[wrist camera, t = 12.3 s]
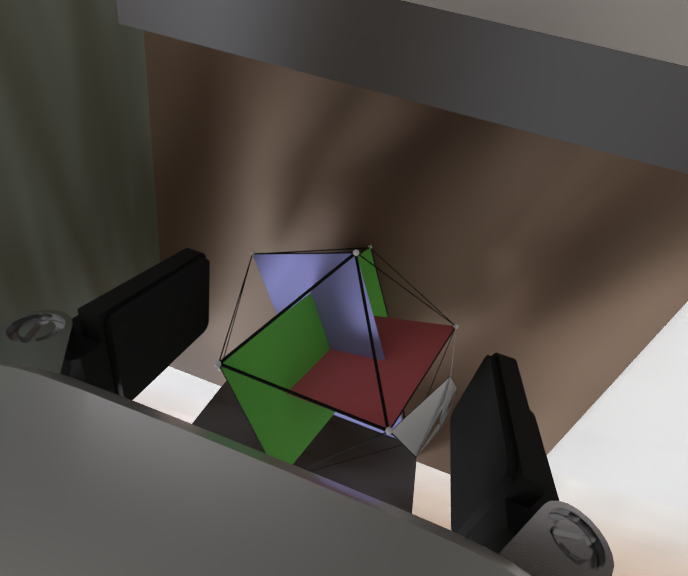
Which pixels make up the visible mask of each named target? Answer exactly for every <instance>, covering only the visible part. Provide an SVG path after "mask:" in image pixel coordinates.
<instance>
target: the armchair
mask: <svg viewBox="0 0 688 576" xmlns="http://www.w3.org/2000/svg"><path fill="white" fill-rule="evenodd" d="M369 245H372V249H373V250H374V251H375V252H376V253H377V254H378V255H379V256H380V257H381V258H382V259H384V260H385V261H386V262H387V263H388V264H389V265H390V266H391V267H392V268H393V269H394V270H396V271H397V272H398V273H399V274H400V275H401V276H402V277H403V278H404V279H405V280H407V281H408V282H409V283H410V284H411V285H412V286H413V287H414V288H415V289H416V290H417V291H419V292H420V293H421V294H422V295H423V296H424V297H425V298H426V299H427V300H428V301H429V302H431V303H432V304H433V305H434V306H435V307H436V308H437V309H438V310H439V311H440V312H441V313H443V314H444V315H445V316H446V317H447V318H448V319H449V320H450V321H451V322H452V323H453V324H458V325H459V327H458V328H457V329H455V331H454V334H453V333H452V334H453V336H452V335H451V336H452V338H451V337H450V338H451V341H450V338H449V340H448V341H447V343H446V344H445V346H444V348H443V349H442V351H441V352H440V354H439V355H438V357H437V359H436V360H435V362H434V363H433V365H432V366H431V368H430V370H429V371H428V373H427V374H426V376H425V377H424V379H423V381H422V382H421V384H420V385H419V387H418V388H417V390H416V392H415V393H414V395H413V396H412V398H411V399H410V401H409V403H408V404H407V406H406V407H405V409H404V412H405V417H406V416H407V415H408V414H409V413H410V412H411V411H413V410H414V409H415V408H416V407H417V406H418V405H419V404H420V403H421V402H422V401H423V400H425V399H426V397H427V394H428V392H429V390H430V387H431V385H432V382H433V380H434V377H435V375H436V373H437V370H438V368H439V365H440V363H441V360H442V358H443V355H444V353H445V351H446V348H447V346H448V343H449V341H450V343H449V346H448V348H447V351H446V353H445V355H444V358H443V360H442V363H441V365H440V368H439V370H438V373H437V375H436V377H435V380H434V382H433V385H432V387H431V390H430V392H429V394H428V396H429V395H430V394H431V393H432V392H433V391H434V390H435V389H437V388H438V387H439V386H440V385H441V384H442V383H443V382H444V381H445V380H446V379H447V378H448V377H450V374H451V366H452V358H453V367H452V380H453V381H454V383H455V385H456V387H457V390H456V392H455V393H456V394H455V397H453V398H454V400H453V399H452V401H453V403H452V402H451V403H452V406H451V404H450V406H451V409H450V411H449V413H448V415H447V417H446V419H445V421H444V423H443V425H442V427H441V428H440V429H439V430H438V431H437V432H436V434H435V435H434V436H433V437H432V439H431V440H430V441H429V442H428V444H427V445H426V446H425V447H424V449H423V450H422V451H421V449H422V448H423V446H424V445H425V443H426V442H427V440H428V439H429V437H430V436H431V434H432V433H433V431H434V430H435V428H436V427H437V425H438V424H439V422H440V417H441V413H442V410H441V412H440V414H439V415H438V417H437V419H436V421H435V423H434V425H433V427H432V429H431V430H430V432H429V434H428V436H427V438H426V440H425V442H424V444H423V445H422V447H421V449H420V451H421V452H420V451H419V452H420V454H419V453H418V454H419V455H417V457H416V458H415V457H414V456H413V455H412V454H411V453H410V452H409V451H408V450H407V449H406V448H405V447H404V446H403V445H402V444H401V443H400V442H399V441H398V440H395V439H393V438H390V437H388V436H385V435H382V436H380V437H377V438H375V439H373V440H371V441H368V442H366V443H364V444H362V445H359V446H357V447H355V448H353V449H350V450H348V451H346V452H344V453H341V454H339V455H337V456H335V457H332V458H330V459H328V460H325V461H323V462H321V463H319V464H316V465H314V466H312V467H310V468H307V469H305V470H307V471H311V470H315V469H318V468H322V467H325V466H329V465H332V464H336V463H339V462H343V461H346V460H349V461H346V462H343V463H339V464H336V465H332V466H329V467H325V468H322V469H318V470H315V471H311V472H312V473H314V474H317V475H319V476H322V477H324V478H326V479H329V480H331V481H334V482H336V483H339V484H341V485H344V486H346V487H348V488H351V489H353V490H356V491H358V492H361V493H363V494H366V495H368V496H370V497H373V498H375V499H378V500H380V501H383V502H385V503H388V504H390V505H392V506H395V507H397V508H399V509H402V510H404V511H406V512H409V513H411V514H412V505H413V493H414V481H415V470H416V461H417V462H419V463H422V464H425V465H427V466H430V467H432V468H435V469H438V470H440V471H443V472H445V473H448V474H451V471H450V418H451V414H452V412H453V410H454V408H455V406H456V405H457V403H458V401H459V400H460V398H461V396H462V395H463V393H464V391H465V390H466V388H467V386H468V385H469V383H470V381H471V379H472V378H473V376H474V374H475V373H476V371H477V369H478V368H479V366H480V364H481V363H482V361H483V359H484V358H485V356H486V355H491V356H492V355H493V354H494V353H499V354H502V355H505V356H508V357H511V358H514V359H516V361H517V364H518V368H519V372H520V375H521V379H522V383H523V386H524V390H525V394H526V397H527V401H528V405H529V408H530V410H531V411H532V412H533V413H534V415H535V417H536V421H537V424H538V428H539V431H540V435H541V438H542V442H543V445H544V449H545V452H546V455H547V454H548V453H549V452H550V451H551V450H552V449H553V447H554V446H555V445H556V444H557V443H558V442H559V441H560V440H561V439H562V438H563V437H564V435H565V434H566V433H567V432H568V431H569V430H570V429H571V428H572V427H573V426H574V425H575V423H576V422H577V421H578V420H579V419H580V418H581V417H582V416H583V415H584V414H585V413H586V411H587V410H588V409H589V408H590V407H591V406H592V405H593V404H594V403H595V402H596V400H597V399H598V398H599V397H600V396H601V395H602V394H603V393H604V392H605V391H606V390H607V388H608V387H609V386H610V385H611V384H612V383H613V382H614V381H615V380H616V379H617V378H618V376H619V375H620V374H621V373H622V372H623V371H624V370H625V369H626V368H627V367H628V366H629V364H630V363H631V362H632V361H633V360H634V359H635V358H636V357H637V356H638V355H639V354H640V352H641V351H642V350H643V349H644V348H645V347H646V346H647V345H648V344H649V343H650V341H651V340H652V339H653V338H654V337H655V336H656V335H657V334H658V333H659V332H660V331H661V329H662V328H663V327H664V326H665V325H666V324H667V323H668V322H669V321H670V320H671V319H672V317H673V316H674V315H675V314H676V313H677V312H678V311H679V310H680V309H681V308H682V307H683V305H684V304H685V303H686V302H687V301H688V67H686V66H682V65H678V64H673V63H669V62H665V61H660V60H656V59H652V58H647V57H643V56H639V55H634V54H630V53H626V52H621V51H617V50H613V49H609V48H604V47H600V46H596V45H591V44H587V43H583V42H578V41H574V40H570V39H565V38H561V37H557V36H552V35H548V34H544V33H539V32H535V31H531V30H526V29H522V28H518V27H513V26H509V25H505V24H500V23H496V22H492V21H487V20H483V19H479V18H474V17H470V16H466V15H462V14H457V13H453V12H449V11H444V10H440V9H436V8H431V7H427V6H423V5H418V4H414V3H410V2H405V1H401V0H0V327H1V326H2V325H3V324H4V323H5V322H7V321H8V320H10V319H11V318H14V317H16V316H18V315H20V314H24V313H27V312H31V311H38V310H57V311H62V312H64V313H67V314H69V316H70V317H71V318H74V317H75V316H77V315H78V310H77V309H78V308H80V307H81V306H83V305H85V304H87V303H89V302H90V301H92V300H94V299H96V298H97V297H99V296H101V295H103V294H105V293H106V292H108V291H110V290H112V289H114V288H115V287H117V286H119V285H121V284H122V283H124V282H126V281H128V280H130V279H131V278H133V277H135V276H137V275H139V274H140V273H142V272H144V271H146V270H147V269H149V268H151V267H153V266H155V265H156V264H158V263H160V262H162V261H163V260H165V259H167V258H169V257H171V256H172V255H174V254H176V253H178V252H180V251H181V250H183V249H185V248H190V249H193V250H196V251H199V252H202V253H204V254H205V255H206V259H208V260H209V262H210V284H209V324H208V327H207V329H206V330H205V332H204V333H203V334H202V335H201V336H200V337H198V338H197V339H196V340H195V341H194V342H193V343H192V344H191V345H190V346H189V347H188V348H187V349H186V350H185V351H184V352H183V353H182V354H181V355H180V356H178V357H177V358H176V359H175V360H174V361H173V362H172V363H171V364H170V365H169V366H170V367H173V368H175V369H178V370H181V371H183V372H186V373H188V374H191V375H194V376H196V377H199V378H201V379H204V380H207V381H209V382H212V383H214V384H217V385H220V386H222V387H221V388H220V389H219V390H218V392H217V393H216V394H215V396H214V397H213V398H212V399H211V401H210V402H209V403H208V404H207V406H206V407H205V408H204V409H203V411H202V412H201V413H200V415H199V416H198V417H197V418H196V420H195V421H194V422H193V423H192V424H193V425H195V426H198V427H200V428H203V429H205V430H208V431H210V432H213V433H215V434H218V435H220V436H223V437H225V438H228V439H230V440H233V441H235V442H238V443H240V444H243V445H245V446H248V447H250V448H253V449H255V450H258V451H260V452H262V453H264V451H263V449H262V447H261V445H260V443H259V441H258V439H257V437H256V435H255V434H254V432H253V430H252V428H251V426H250V424H249V422H248V420H247V418H246V417H245V415H244V413H243V411H242V409H241V407H240V405H239V403H238V401H237V399H236V398H235V396H234V394H233V392H232V390H231V388H230V386H229V384H228V382H227V381H226V379H225V377H224V375H223V373H222V371H219V370H218V367H215V366H214V363H215V361H217V360H219V358H220V355H221V352H222V349H223V345H224V342H225V339H226V336H227V332H228V329H229V326H230V323H231V320H232V316H233V313H234V310H235V307H236V304H237V300H238V297H239V294H240V291H241V287H242V284H243V281H244V278H245V275H246V271H247V268H248V265H249V262H250V259H251V254H250V253H251V251H255V253H269V252H288V251H307V250H326V249H345V248H364V247H368V246H369ZM354 250H362V249H351V250H332V251H314V252H353V251H354ZM374 251H372V254H373V258H374V262H375V266H376V267H377V268H379V269H380V270H381V271H383V272H384V273H386V274H387V275H388V276H390V277H391V278H392V279H394V280H395V281H396V282H398V283H399V284H400V285H402V286H403V287H404V288H406V289H407V290H409V291H410V292H411V293H413V294H414V295H415V296H417V297H418V298H419V299H421V300H422V301H423V302H425V303H426V304H427V305H429V306H430V307H432V308H433V309H434V310H436V311H437V312H438V313H440V312H439V311H438V310H437V309H436V308H435V307H433V306H432V305H431V304H430V303H429V302H428V301H427V300H426V299H425V298H424V297H423V296H422V295H420V294H419V293H418V292H417V291H416V290H415V289H414V288H413V287H412V286H411V285H410V284H408V283H407V282H406V281H405V280H404V279H403V278H402V277H401V276H400V275H399V274H398V273H396V272H395V271H394V270H393V269H392V268H391V267H390V266H389V265H388V264H387V263H386V262H384V261H383V260H382V259H381V258H380V257H379V256H378V255H377V254H376V253H375V252H374ZM295 253H311V252H295ZM361 253H362V252H360V253H359V254H361ZM377 268H376V270H377V273H378V277H379V281H380V285H381V289H382V293H383V297H384V301H385V305H386V309H387V313H388V317H389V318H396V319H404V320H411V321H419V322H427V323H435V324H443V325H450V326H453V324H451V323H450V322H449V321H447V320H446V319H447V318H446V319H445V318H443V317H442V316H443V315H442V314H441V313H440V314H441V315H442V316H441V315H439V314H438V313H436V312H435V311H434V310H432V309H431V308H430V307H428V306H427V305H426V304H424V303H423V302H422V301H420V300H419V299H417V298H416V297H415V296H413V295H412V294H411V293H409V292H408V291H407V290H405V289H404V288H402V287H401V286H400V285H398V284H397V283H396V282H394V281H393V280H392V279H390V278H389V277H388V276H386V275H385V274H383V273H382V272H381V271H379V270H378V269H377ZM239 299H240V298H239ZM238 303H239V301H238ZM237 306H238V305H237ZM236 310H237V308H236ZM235 314H236V311H235ZM235 314H234V317H235ZM276 315H277V313H276V311H275V308H274V306H273V303H272V301H271V299H270V296H269V294H268V291H267V289H266V286H265V284H264V281H263V279H262V277H261V274H260V272H259V269H258V267H257V264H256V262H255V259H254V257H253V256H252V259H251V263H250V266H249V270H248V274H247V277H246V281H245V285H244V288H243V292H242V295H241V299H240V303H239V306H238V310H237V314H236V317H235V321H234V318H233V321H234V325H233V321H232V324H231V327H230V331H229V334H228V337H227V340H226V344H225V347H224V350H223V353H222V357H221V359H222V358H223V357H224V354H225V350H226V346H227V343H228V339H229V335H230V332H231V328H232V325H233V328H232V332H231V335H230V339H229V343H228V346H227V350H226V354H225V356H226V355H227V354H229V353H230V352H231V351H232V350H233V349H235V348H236V347H237V346H238V345H240V344H241V343H242V342H243V341H245V340H246V339H247V338H248V337H250V336H251V335H252V334H253V333H255V332H256V331H257V330H258V329H259V328H261V327H262V326H263V325H264V324H266V323H267V322H268V321H269V320H271V319H272V318H273V317H274V316H276ZM455 334H456V337H455ZM454 342H455V347H454ZM453 350H454V357H453ZM450 406H449V407H450ZM442 409H443V408H442ZM401 419H402V420H403V419H404V417H403V412H402V414H401ZM377 435H380V433H377V432H375V431H372V430H369V429H367V428H364V427H362V426H359V425H356V424H354V423H351V422H349V421H346V420H344V419H341V418H338V417H336V416H332V417H331V418H330V419H329V420H328V422H327V423H326V424H325V425H324V427H323V428H322V429H321V430H320V431H319V433H318V434H317V435H316V436H315V438H314V439H313V440H312V441H311V442H310V444H309V445H308V446H307V447H306V449H305V450H304V451H303V452H302V454H301V455H300V456H299V457H298V458H297V460H296V461H295V462H294V463H293V465H295V466H297V467H300V468H302V469H303V468H306V467H308V466H310V465H312V464H315V463H317V462H319V461H321V460H324V459H326V458H328V457H330V456H333V455H335V454H337V453H339V452H342V451H344V450H346V449H348V448H351V447H353V446H355V445H357V444H359V443H362V442H364V441H366V440H368V439H371V438H373V437H375V436H377ZM399 445H402V446H399ZM395 446H398V447H395ZM392 447H395V448H392ZM388 448H391V449H388ZM385 449H388V450H385ZM381 450H384V451H381ZM378 451H381V452H378ZM374 452H377V453H374ZM371 453H374V454H371ZM367 454H370V455H367ZM364 455H367V456H364ZM360 456H363V457H360ZM357 457H360V458H357ZM353 458H356V459H353ZM350 459H353V460H350Z"/></svg>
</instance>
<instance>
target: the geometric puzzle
mask: <svg viewBox="0 0 688 576" xmlns="http://www.w3.org/2000/svg"><path fill="white" fill-rule="evenodd" d="M351 249H362V250H354V251H353V252H314V251H332V250H351ZM372 251H374V250H373V249H372V245H369V246H368V247H364V248H345V249H326V250H307V251H288V252H269V253H255V251H251V253H250V254H251V259H252V256H253V257H254V259H255V262H256V264H257V267H258V269H259V272H260V274H261V277H262V279H263V281H264V284H265V286H266V289H267V291H268V294H269V296H270V299H271V301H272V303H273V306H274V308H275V311H276V313H277V315H276V316H274V317H273V318H272V319H271V320H269V321H268V322H267V323H266V324H264V325H263V326H262V327H261V328H259V329H258V330H257V331H256V332H255V333H253V334H252V335H251V336H250V337H248V338H247V339H246V340H245V341H243V342H242V343H241V344H240V345H238V346H237V347H236V348H235V349H233V350H232V351H231V352H230V353H229V354H227V355H226V356H225V354H226V350H227V346H228V343H229V339H230V335H231V332H232V328H233V325H234V321H235V317H236V314H237V310H238V306H239V303H240V299H241V295H242V292H243V288H244V285H245V281H246V277H247V274H248V270H249V266H250V263H251V259H250V262H249V265H248V268H247V271H246V275H245V278H244V281H243V284H242V287H241V291H240V294H239V297H238V300H237V304H236V307H235V310H234V313H233V316H232V320H231V323H230V326H229V329H228V332H227V336H226V339H225V342H224V345H223V349H222V352H221V355H220V358H219V360H217V361H215V363H214V366H215V367H218V370H219V371H222V373H223V375H224V377H225V379H226V381H227V382H228V384H229V386H230V388H231V390H232V392H233V394H234V396H235V398H236V399H237V401H238V403H239V405H240V407H241V409H242V411H243V413H244V415H245V417H246V418H247V420H248V422H249V424H250V426H251V428H252V430H253V432H254V434H255V435H256V437H257V439H258V441H259V443H260V445H261V447H262V449H263V451H264V453H265V454H267V455H270V456H272V457H275V458H277V459H280V460H282V461H285V462H287V463H290V464H292V465H293V463H294V462H295V461H296V460H297V458H298V457H299V456H300V455H301V454H302V452H303V451H304V450H305V449H306V447H307V446H308V445H309V444H310V442H311V441H312V440H313V439H314V438H315V436H316V435H317V434H318V433H319V431H320V430H321V429H322V428H323V427H324V425H325V424H326V423H327V422H328V420H329V419H330V418H331V417H332V416H336V417H338V418H341V419H344V420H346V421H349V422H351V423H354V424H356V425H359V426H362V427H364V428H367V429H369V430H372V431H375V432H377V433H380V435H377V436H375V437H373V438H371V439H368V440H366V441H364V442H362V443H359V444H357V445H355V446H353V447H351V448H348V449H346V450H344V451H342V452H339V453H337V454H335V455H333V456H330V457H328V458H326V459H324V460H321V461H319V462H317V463H315V464H312V465H310V466H308V467H306V468H303V469H307V468H310V467H312V466H314V465H316V464H319V463H321V462H323V461H325V460H328V459H330V458H332V457H335V456H337V455H339V454H341V453H344V452H346V451H348V450H350V449H353V448H355V447H357V446H359V445H362V444H364V443H366V442H368V441H371V440H373V439H375V438H377V437H380V436H382V435H385V436H388V437H390V438H393V439H395V440H398V441H399V442H400V443H401V444H402V445H403V446H404V447H405V448H406V449H407V450H408V451H409V452H410V453H411V454H412V455H413V456H414V457H415V458H416V457H417V455H419V454H420V452H421V451H422V450H423V449H424V447H425V446H426V445H427V444H428V442H429V441H430V440H431V439H432V437H433V436H434V435H435V434H436V432H437V431H438V430H439V429H440V428H441V427H442V425H443V423H444V421H445V419H446V417H447V415H448V413H449V411H450V409H451V406H452V403H453V401H452V399H453V400H454V398H453V397H455V394H456V393H455V392H456V390H457V387H456V385H455V383H454V381H453V380H452V367H453V358H452V366H451V374H450V377H448V378H447V379H446V380H445V381H444V382H443V383H442V384H441V385H440V386H439V387H438V388H437V389H435V390H434V391H433V392H432V393H431V394H430V395H429V396H428V394H429V392H430V390H431V387H432V385H433V382H434V380H435V377H436V375H437V373H438V370H439V368H440V365H441V363H442V360H443V358H444V355H445V353H446V351H447V348H448V346H449V343H450V341H451V338H452V336H453V334H454V331H455V329H457V328H458V327H459V325H458V324H453V323H452V322H451V321H450V320H449V319H448V318H447V317H446V316H445V315H444V314H443V313H441V312H440V311H439V310H438V309H437V308H436V307H435V306H434V305H433V304H432V303H431V302H429V301H428V300H427V299H426V298H425V297H424V296H423V295H422V294H421V293H420V292H419V291H417V290H416V289H415V288H414V287H413V286H412V285H411V284H410V283H409V282H408V281H407V280H405V279H404V278H403V277H402V276H401V275H400V274H399V273H398V272H397V271H396V270H394V269H393V268H392V267H391V266H390V265H389V264H388V263H387V262H386V261H385V260H384V259H382V258H381V257H380V256H379V255H378V254H377V253H376V252H375V251H374V252H375V253H376V254H377V255H378V256H379V257H380V258H381V259H382V260H383V261H384V262H386V263H387V264H388V265H389V266H390V267H391V268H392V269H393V270H394V271H395V272H396V273H398V274H399V275H400V276H401V277H402V278H403V279H404V280H405V281H406V282H407V283H408V284H410V285H411V286H412V287H413V288H414V289H415V290H416V291H417V292H418V293H419V294H420V295H422V296H423V297H424V298H425V299H426V300H427V301H428V302H429V303H430V304H431V305H432V306H433V307H435V308H436V309H437V310H438V311H439V312H440V313H441V314H442V315H443V316H442V315H441V314H440V313H438V312H437V311H436V310H434V309H433V308H432V307H430V306H429V305H427V304H426V303H425V302H423V301H422V300H421V299H419V298H418V297H417V296H415V295H414V294H413V293H411V292H410V291H409V290H407V289H406V288H404V287H403V286H402V285H400V284H399V283H398V282H396V281H395V280H394V279H392V278H391V277H390V276H388V275H387V274H386V273H384V272H383V271H381V270H380V269H379V268H377V267H376V266H375V262H374V258H373V254H372ZM295 252H311V253H295ZM360 252H362V253H361V254H359V253H360ZM376 268H377V269H378V270H379V271H381V272H382V273H383V274H385V275H386V276H388V277H389V278H390V279H392V280H393V281H394V282H396V283H397V284H398V285H400V286H401V287H402V288H404V289H405V290H407V291H408V292H409V293H411V294H412V295H413V296H415V297H416V298H417V299H419V300H420V301H422V302H423V303H424V304H426V305H427V306H428V307H430V308H431V309H432V310H434V311H435V312H436V313H438V314H439V315H441V316H442V317H443V318H445V319H446V318H447V319H446V320H447V321H449V322H450V323H451V324H453V326H450V325H443V324H435V323H427V322H419V321H411V320H404V319H396V318H389V317H388V313H387V309H386V305H385V301H384V297H383V293H382V289H381V285H380V281H379V277H378V273H377V270H376ZM239 298H240V299H239ZM238 301H239V303H238ZM237 305H238V306H237ZM236 308H237V310H236ZM235 311H236V314H235ZM234 314H235V317H234ZM233 318H234V321H233ZM232 321H233V325H232V328H231V332H230V335H229V339H228V343H227V346H226V350H225V354H224V357H223V358H222V359H221V357H222V353H223V350H224V347H225V344H226V340H227V337H228V334H229V331H230V327H231V324H232ZM452 333H453V334H452ZM451 335H452V336H451ZM450 337H451V338H450ZM455 337H456V334H455ZM449 338H450V341H449V343H448V346H447V348H446V351H445V353H444V355H443V358H442V360H441V363H440V365H439V368H438V370H437V373H436V375H435V377H434V380H433V382H432V385H431V387H430V390H429V392H428V394H427V397H426V399H425V400H423V401H422V402H421V403H420V404H419V405H418V406H417V407H416V408H415V409H414V410H413V411H411V412H410V413H409V414H408V415H407V416H406V417H405V412H404V409H405V407H406V406H407V404H408V403H409V401H410V399H411V398H412V396H413V395H414V393H415V392H416V390H417V388H418V387H419V385H420V384H421V382H422V381H423V379H424V377H425V376H426V374H427V373H428V371H429V370H430V368H431V366H432V365H433V363H434V362H435V360H436V359H437V357H438V355H439V354H440V352H441V351H442V349H443V348H444V346H445V344H446V343H447V341H448V340H449ZM454 347H455V342H454ZM453 357H454V350H453ZM451 402H452V403H451ZM450 404H451V406H450ZM449 406H450V407H449ZM442 408H443V409H442ZM441 410H442V413H441V417H440V422H439V424H438V425H437V427H436V428H435V430H434V431H433V433H432V434H431V436H430V437H429V439H428V440H427V442H426V443H425V445H424V446H423V448H422V449H421V447H422V445H423V444H424V442H425V440H426V438H427V436H428V434H429V432H430V430H431V429H432V427H433V425H434V423H435V421H436V419H437V417H438V415H439V414H440V412H441ZM402 412H403V417H404V419H403V420H402V419H401V414H402ZM402 445H399V446H402ZM395 447H398V446H395ZM395 447H392V448H395ZM388 449H391V448H388ZM388 449H385V450H388ZM420 449H421V451H420ZM381 451H384V450H381ZM381 451H378V452H381ZM419 451H420V452H419ZM374 453H377V452H374ZM374 453H371V454H374ZM418 453H419V454H418ZM367 455H370V454H367ZM367 455H364V456H367ZM360 457H363V456H360ZM360 457H357V458H360ZM353 459H356V458H353ZM353 459H350V460H353ZM346 461H349V460H346ZM346 461H343V462H346ZM343 462H339V463H343ZM339 463H336V464H339ZM336 464H332V465H336ZM332 465H329V466H332ZM329 466H325V467H329ZM325 467H322V468H325ZM322 468H318V469H322ZM318 469H315V470H318ZM315 470H311V471H315ZM311 471H309V472H311Z"/></svg>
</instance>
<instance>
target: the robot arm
mask: <svg viewBox="0 0 688 576" xmlns="http://www.w3.org/2000/svg"><path fill="white" fill-rule="evenodd" d="M209 284H210V262H209V260H208V259H206V255H205V254H204V253H202V252H199V251H196V250H193V249H190V248H185V249H183V250H181V251H180V252H178V253H176V254H174V255H172V256H171V257H169V258H167V259H165V260H163V261H162V262H160V263H158V264H156V265H155V266H153V267H151V268H149V269H147V270H146V271H144V272H142V273H140V274H139V275H137V276H135V277H133V278H131V279H130V280H128V281H126V282H124V283H122V284H121V285H119V286H117V287H115V288H114V289H112V290H110V291H108V292H106V293H105V294H103V295H101V296H99V297H97V298H96V299H94V300H92V301H90V302H89V303H87V304H85V305H83V306H81V307H80V308H78V309H77V310H78V315H77V316H75V317H74V318H71V317H70V316H69V314H67V313H64V312H62V311H57V310H38V311H31V312H27V313H24V314H20V315H18V316H16V317H14V318H11V319H10V320H8V321H7V322H5V323H4V324H3V325H2V326H1V327H0V576H612V573H613V568H614V561H613V555H612V552H611V550H610V547H609V545H608V543H607V541H606V539H605V538H604V536H603V535H602V533H601V532H600V530H599V529H598V528H597V527H596V526H595V524H594V523H593V522H592V521H591V520H590V519H589V518H588V517H587V516H585V515H584V514H583V513H582V512H581V511H579V510H578V509H576V508H575V507H573V506H571V505H569V504H567V503H564V502H561V501H559V498H558V495H557V491H556V488H555V484H554V481H553V477H552V474H551V470H550V466H549V463H548V459H547V456H546V452H545V449H544V445H543V442H542V438H541V435H540V431H539V428H538V424H537V421H536V417H535V415H534V413H533V412H532V411H531V410H530V408H529V405H528V401H527V397H526V394H525V390H524V386H523V383H522V379H521V375H520V372H519V368H518V364H517V361H516V359H514V358H511V357H508V356H505V355H502V354H499V353H494V354H493V355H492V356H491V355H486V356H485V358H484V359H483V361H482V363H481V364H480V366H479V368H478V369H477V371H476V373H475V374H474V376H473V378H472V379H471V381H470V383H469V385H468V386H467V388H466V390H465V391H464V393H463V395H462V396H461V398H460V400H459V401H458V403H457V405H456V406H455V408H454V410H453V412H452V414H451V418H450V471H451V530H452V531H451V530H448V529H446V528H444V527H441V526H439V525H437V524H434V523H432V522H430V521H427V520H425V519H423V518H420V517H418V516H416V515H413V514H411V513H409V512H406V511H404V510H402V509H399V508H397V507H395V506H392V505H390V504H388V503H385V502H383V501H380V500H378V499H375V498H373V497H370V496H368V495H366V494H363V493H361V492H358V491H356V490H353V489H351V488H348V487H346V486H344V485H341V484H339V483H336V482H334V481H331V480H329V479H326V478H324V477H322V476H319V475H317V474H314V473H312V472H309V471H307V470H305V469H302V468H300V467H297V466H295V465H292V464H290V463H287V462H285V461H282V460H280V459H277V458H275V457H272V456H270V455H267V454H265V453H262V452H260V451H258V450H255V449H253V448H250V447H248V446H245V445H243V444H240V443H238V442H235V441H233V440H230V439H228V438H225V437H223V436H220V435H218V434H215V433H213V432H210V431H208V430H205V429H203V428H200V427H198V426H195V425H193V424H190V423H188V422H185V421H183V420H180V419H178V418H175V417H173V416H170V415H168V414H165V413H163V412H160V411H157V410H155V409H152V408H150V407H147V406H145V405H142V404H140V403H137V402H135V401H132V400H133V399H134V398H135V397H136V396H137V395H138V394H140V393H141V392H142V391H143V390H144V389H145V388H146V387H147V386H148V385H149V384H150V383H151V382H152V381H153V380H154V379H155V378H156V377H157V376H158V375H160V374H161V373H162V372H163V371H164V370H165V369H166V368H167V367H168V366H169V365H170V364H171V363H172V362H173V361H174V360H175V359H176V358H177V357H178V356H180V355H181V354H182V353H183V352H184V351H185V350H186V349H187V348H188V347H189V346H190V345H191V344H192V343H193V342H194V341H195V340H196V339H197V338H198V337H200V336H201V335H202V334H203V333H204V332H205V330H206V329H207V327H208V324H209Z"/></svg>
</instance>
